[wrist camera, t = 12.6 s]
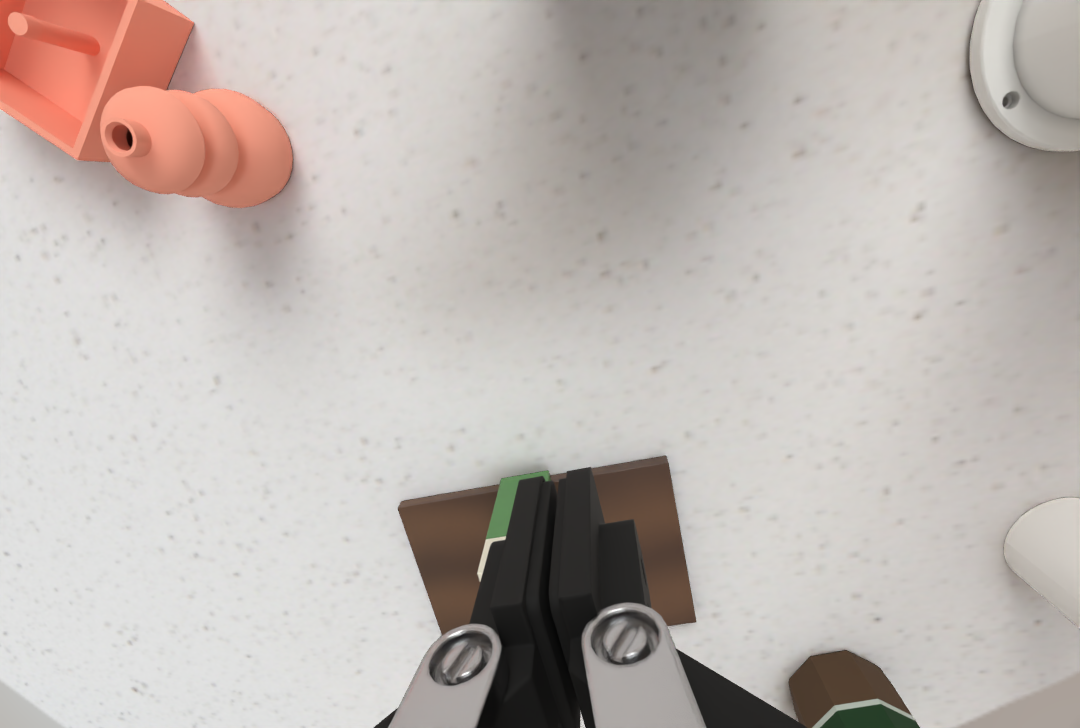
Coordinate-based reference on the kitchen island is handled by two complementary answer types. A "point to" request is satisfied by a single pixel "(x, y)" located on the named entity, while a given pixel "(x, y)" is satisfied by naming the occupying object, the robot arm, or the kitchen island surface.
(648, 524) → the cutting board
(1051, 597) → the cylindrical container
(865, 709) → the beer bottle
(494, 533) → the block
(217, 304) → the kitchen island surface
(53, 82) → the coral tray and vase
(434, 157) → the kitchen island surface
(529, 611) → the robot arm
